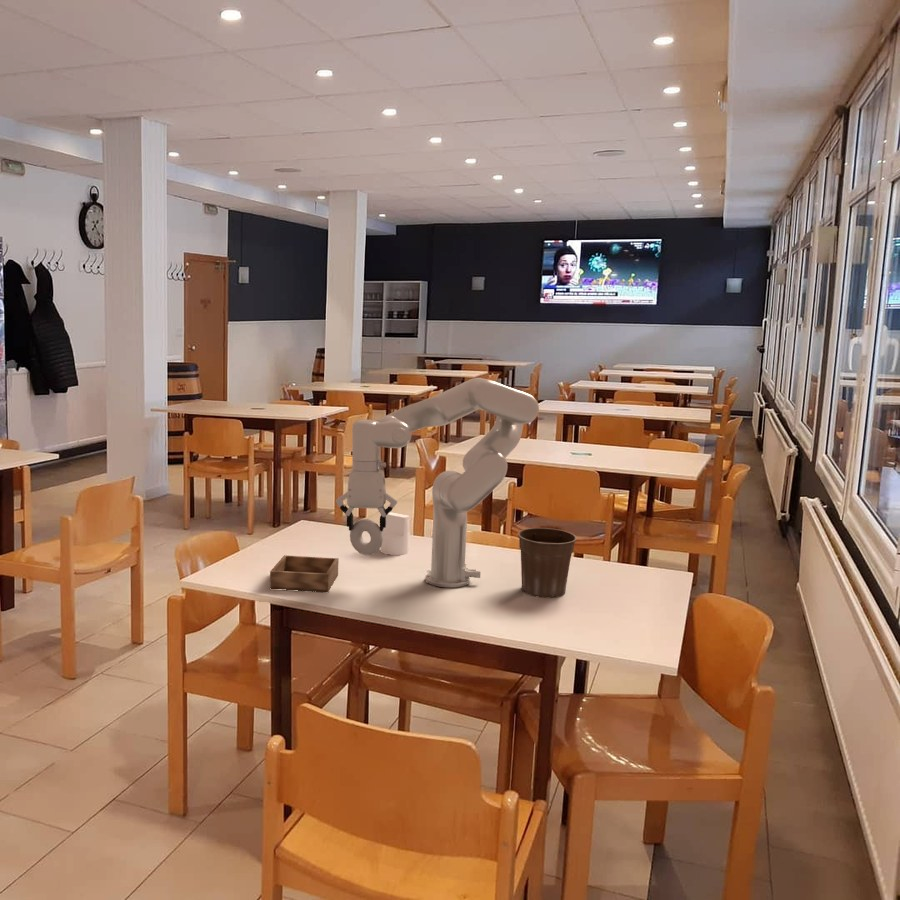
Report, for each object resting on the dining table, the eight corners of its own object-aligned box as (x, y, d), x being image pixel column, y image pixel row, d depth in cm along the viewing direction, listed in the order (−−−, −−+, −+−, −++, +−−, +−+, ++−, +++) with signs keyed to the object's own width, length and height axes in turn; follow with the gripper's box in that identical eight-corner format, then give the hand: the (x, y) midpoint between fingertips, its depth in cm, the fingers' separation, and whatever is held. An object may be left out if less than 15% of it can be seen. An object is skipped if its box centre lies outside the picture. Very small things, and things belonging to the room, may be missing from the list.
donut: (385, 555, 226) (385, 519, 224) (378, 558, 223) (378, 522, 221) (354, 550, 230) (354, 515, 229) (347, 553, 227) (347, 518, 225)
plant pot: (569, 604, 221) (574, 545, 219) (510, 596, 225) (513, 539, 222) (575, 586, 237) (579, 531, 234) (519, 579, 240) (522, 525, 238)
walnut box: (338, 575, 236) (338, 558, 236) (327, 592, 221) (328, 574, 220) (283, 572, 237) (284, 555, 236) (269, 589, 222) (270, 571, 221)
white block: (414, 551, 265) (415, 514, 264) (397, 557, 258) (399, 519, 256) (391, 546, 270) (392, 510, 268) (374, 551, 262) (376, 514, 261)
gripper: (400, 464, 226) (399, 527, 229) (336, 462, 227) (336, 525, 229) (397, 469, 218) (396, 534, 221) (331, 467, 219) (332, 532, 222)
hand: (366, 529), depth 225 cm, fingers closed on donut, 7 cm apart
